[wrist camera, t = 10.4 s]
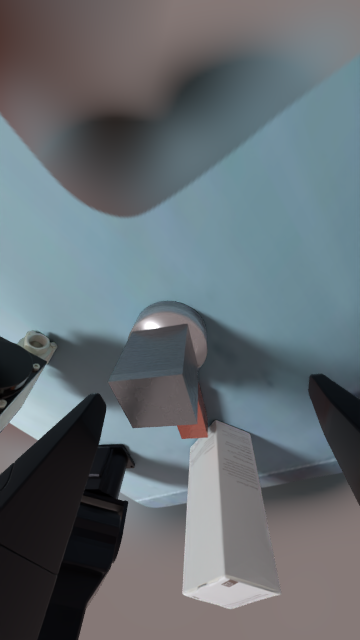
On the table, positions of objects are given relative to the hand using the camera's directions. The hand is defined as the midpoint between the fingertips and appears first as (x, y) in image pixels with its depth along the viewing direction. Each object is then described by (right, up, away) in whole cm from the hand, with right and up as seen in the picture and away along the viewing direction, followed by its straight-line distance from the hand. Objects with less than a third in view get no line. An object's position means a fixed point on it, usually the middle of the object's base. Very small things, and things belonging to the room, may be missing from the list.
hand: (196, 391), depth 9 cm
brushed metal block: (-2, 0, +11) cm, 12 cm away
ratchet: (0, -3, +17) cm, 17 cm away
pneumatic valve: (-17, 0, +16) cm, 24 cm away
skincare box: (+5, -14, +23) cm, 28 cm away
